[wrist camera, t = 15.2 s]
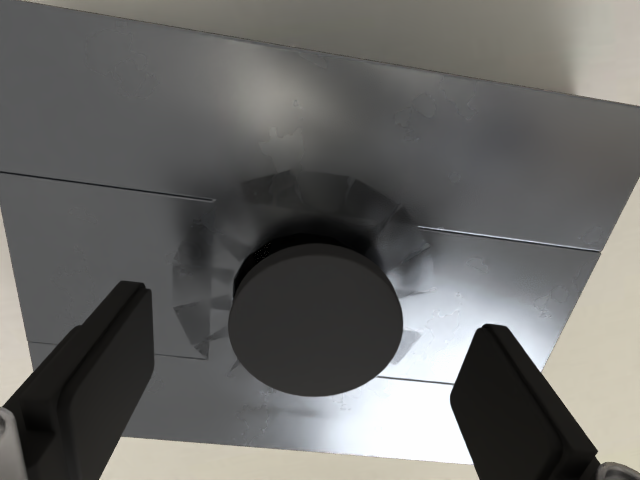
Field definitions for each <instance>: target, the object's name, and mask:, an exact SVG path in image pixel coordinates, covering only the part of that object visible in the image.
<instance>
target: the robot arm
mask: <svg viewBox="0 0 640 480" xmlns="http://www.w3.org/2000/svg"><path fill="white" fill-rule="evenodd" d="M154 365H155V360H154V335H153V310H152V291H151V289H147V288H146V287H145V284H144V283H141V282H133V281H124V280H122V281H120V282H119V283H118V284H117V285H116V286H115V287H114V288H113V290H112V291H111V292H110V293H109V294H108V295H107V296H106V298H105V299H104V300H103V301H102V302H101V303H100V304H99V306H98V307H97V308H96V309H95V310H94V311H93V312H92V314H91V315H90V316H89V317H88V318H87V319H86V320H85V322H84V323H83V324H82V325H78V326H75V327H74V328H73V329H72V330H71V331H70V332H69V333H68V334H67V335H66V336H65V337H64V338H63V339H62V341H61V342H60V343H59V344H58V345H57V346H56V347H55V348H54V349H53V351H52V352H51V353H50V354H49V355H48V356H47V357H46V358H45V360H44V361H43V362H42V363H41V364H40V365H39V366H38V367H37V368H36V370H35V371H34V372H33V373H32V374H31V375H30V376H29V377H28V379H27V380H26V381H25V382H24V383H23V384H22V385H21V386H20V387H19V389H18V390H17V391H16V392H15V393H14V394H13V395H12V396H11V397H10V399H9V400H8V401H7V402H6V403H5V404H4V405H3V406H2V407H0V480H99V478H100V477H101V475H102V473H103V471H104V469H105V467H106V465H107V463H108V461H109V459H110V457H111V455H112V453H113V451H114V449H115V447H116V445H117V443H118V441H119V439H120V437H121V435H122V433H123V431H124V430H125V428H126V426H127V424H128V422H129V420H130V418H131V416H132V414H133V412H134V410H135V408H136V406H137V404H138V402H139V400H140V398H141V396H142V394H143V392H144V390H145V388H146V386H147V384H148V382H149V381H150V379H151V376H152V374H153V370H154ZM450 406H451V409H452V411H453V414H454V416H455V419H456V421H457V424H458V426H459V429H460V431H461V434H462V436H463V439H464V441H465V444H466V446H467V449H468V452H469V454H470V457H471V459H472V462H473V464H474V467H475V469H476V472H477V474H478V477H479V479H480V480H640V473H639V472H637V471H635V470H633V469H631V468H629V467H627V466H625V465H622V464H618V463H615V462H605V463H603V464H600V463H599V461H598V460H597V459H596V457H595V455H596V454H597V452H598V451H597V449H596V448H595V446H594V445H593V444H592V442H591V441H590V439H589V438H588V437H587V435H586V434H585V433H584V431H583V430H582V428H581V427H580V426H579V424H578V423H577V422H576V420H575V419H574V417H573V416H572V415H571V413H570V412H569V411H568V409H567V408H566V406H565V405H564V404H563V402H562V401H561V400H560V398H559V397H558V395H557V394H556V393H555V391H554V390H553V389H552V387H551V386H550V384H549V383H548V382H547V380H546V379H545V378H544V376H543V375H542V373H541V372H540V371H539V369H538V368H537V367H536V365H535V364H534V362H533V361H532V360H531V358H530V357H529V356H528V354H527V353H526V351H525V350H524V349H523V347H522V346H521V344H520V343H519V342H518V340H517V339H516V338H515V336H514V335H513V333H512V332H511V331H510V329H509V328H508V327H507V326H504V325H496V324H488V323H486V324H484V325H483V326H482V328H478V329H477V330H476V331H475V334H474V336H473V339H472V341H471V344H470V346H469V349H468V351H467V354H466V356H465V359H464V361H463V364H462V366H461V369H460V371H459V373H458V376H457V378H456V381H455V383H454V386H453V388H452V391H451V394H450Z"/></svg>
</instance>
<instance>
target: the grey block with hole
mask: <svg viewBox="0 0 640 480" xmlns="http://www.w3.org/2000/svg"><path fill="white" fill-rule="evenodd" d="M639 177H640V106H637V105H631V104H625V103H619V102H613V101H607V100H601V99H596V98H590V97H584V96H578V95H572V94H566V93H560V92H555V91H549V90H543V89H537V88H531V87H525V86H519V85H513V84H508V83H502V82H496V81H490V80H484V79H478V78H472V77H467V76H461V75H455V74H449V73H443V72H437V71H431V70H426V69H420V68H414V67H408V66H402V65H396V64H390V63H385V62H379V61H373V60H367V59H361V58H355V57H349V56H344V55H338V54H332V53H326V52H320V51H314V50H308V49H303V48H297V47H291V46H285V45H279V44H273V43H267V42H262V41H256V40H250V39H244V38H238V37H232V36H226V35H221V34H215V33H209V32H203V31H197V30H191V29H185V28H180V27H174V26H168V25H162V24H156V23H150V22H144V21H139V20H133V19H127V18H121V17H115V16H109V15H103V14H98V13H92V12H86V11H80V10H74V9H68V8H62V7H57V6H51V5H45V4H39V3H33V2H27V1H21V0H0V207H1V212H2V217H3V222H4V227H5V232H6V237H7V242H8V247H9V252H10V257H11V262H12V267H13V272H14V277H15V282H16V287H17V292H18V297H19V302H20V307H21V312H22V317H23V322H24V327H25V332H26V337H27V341H28V346H29V351H30V356H31V361H32V366H33V371H35V370H36V368H37V367H38V366H39V365H40V364H41V363H42V362H43V361H44V360H45V358H46V357H47V356H48V355H49V354H50V353H51V352H52V351H53V349H54V348H55V347H56V346H57V345H58V344H59V343H60V342H61V341H62V339H63V338H64V337H65V336H66V335H67V334H68V333H69V332H70V331H71V330H72V329H73V328H74V327H75V326H78V325H82V324H83V323H84V322H85V320H86V319H87V318H88V317H89V316H90V315H91V314H92V312H93V311H94V310H95V309H96V308H97V307H98V306H99V304H100V303H101V302H102V301H103V300H104V299H105V298H106V296H107V295H108V294H109V293H110V292H111V291H112V290H113V288H114V287H115V286H116V285H117V284H118V283H119V282H120V281H122V280H124V281H133V282H141V283H144V284H145V287H146V288H147V289H151V291H152V310H153V335H154V360H155V365H154V370H153V374H152V376H151V379H150V381H149V382H148V384H147V386H146V388H145V390H144V392H143V394H142V396H141V398H140V400H139V402H138V404H137V406H136V408H135V410H134V412H133V414H132V416H131V418H130V420H129V422H128V424H127V426H126V428H125V430H124V431H123V433H122V435H121V437H133V438H145V439H158V440H170V441H183V442H195V443H208V444H220V445H233V446H245V447H258V448H271V449H283V450H296V451H308V452H321V453H333V454H346V455H358V456H371V457H383V458H396V459H408V460H421V461H433V462H446V463H459V464H471V465H474V464H473V462H472V459H471V457H470V454H469V452H468V449H467V446H466V444H465V441H464V439H463V436H462V434H461V431H460V429H459V426H458V424H457V421H456V419H455V416H454V414H453V411H452V409H451V406H450V394H451V391H452V388H453V386H454V383H455V381H456V378H457V376H458V373H459V371H460V369H461V366H462V364H463V361H464V359H465V356H466V354H467V351H468V349H469V346H470V344H471V341H472V339H473V336H474V334H475V331H476V330H477V329H478V328H482V326H483V325H484V324H486V323H488V324H496V325H504V326H507V327H508V328H509V329H510V331H511V332H512V333H513V335H514V336H515V338H516V339H517V340H518V342H519V343H520V344H521V346H522V347H523V349H524V350H525V351H526V353H527V354H528V356H529V357H530V358H531V360H532V361H533V362H534V364H535V365H536V367H537V368H538V369H539V371H540V372H542V370H543V368H544V366H545V364H546V362H547V360H548V358H549V356H550V354H551V352H552V350H553V348H554V346H555V344H556V342H557V340H558V338H559V336H560V334H561V332H562V330H563V328H564V326H565V324H566V323H567V321H568V319H569V317H570V315H571V313H572V311H573V309H574V307H575V305H576V303H577V301H578V299H579V297H580V295H581V293H582V291H583V289H584V287H585V285H586V283H587V281H588V279H589V277H590V275H591V273H592V271H593V269H594V267H595V265H596V263H597V261H598V259H599V257H600V255H601V253H600V252H601V251H602V250H603V248H604V246H605V244H606V242H607V240H608V238H609V236H610V234H611V232H612V230H613V228H614V226H615V224H616V222H617V220H618V218H619V216H620V214H621V212H622V210H623V208H624V206H625V205H626V203H627V201H628V199H629V197H630V195H631V193H632V191H633V189H634V187H635V185H636V183H637V181H638V179H639ZM296 234H308V235H316V236H324V237H330V238H332V239H334V240H336V241H338V242H339V243H341V244H343V245H345V246H347V247H349V248H350V249H352V250H354V251H355V252H357V253H359V254H361V255H363V256H365V257H366V258H368V259H369V260H371V261H372V262H374V263H375V264H376V265H377V266H378V267H379V268H380V269H381V270H382V271H383V272H384V273H385V274H386V276H387V277H388V279H389V280H390V282H391V283H392V285H393V287H394V290H395V292H396V294H397V297H398V300H399V302H400V305H401V309H402V313H403V322H404V323H403V334H402V339H401V342H400V345H399V348H398V350H397V352H396V354H395V356H394V357H393V359H392V360H391V362H390V363H389V364H388V366H387V367H386V368H385V369H384V370H383V371H382V372H381V373H380V374H379V375H377V376H376V377H375V378H374V379H372V380H371V381H369V382H368V383H366V384H364V385H362V386H360V387H358V388H356V389H354V390H351V391H348V392H345V393H341V394H338V395H332V396H326V397H304V396H297V395H292V394H287V393H284V392H281V391H278V390H275V389H273V388H271V387H269V386H267V385H265V384H263V383H262V382H260V381H259V380H257V379H256V378H255V377H254V376H252V375H251V374H250V373H249V372H248V371H247V370H246V369H245V368H244V367H243V366H242V364H241V363H240V361H239V360H238V359H237V357H236V355H235V353H234V351H233V348H232V346H231V343H230V339H229V333H228V319H229V313H230V309H231V306H232V303H233V300H234V297H235V294H236V291H237V289H238V287H239V285H240V283H241V282H242V280H243V279H244V277H245V276H246V274H247V273H248V272H249V271H250V270H251V269H252V268H253V267H254V266H255V265H257V264H256V261H255V259H254V256H253V253H254V252H256V251H257V250H259V249H260V248H262V247H263V246H264V245H266V244H267V243H269V242H270V241H271V240H275V239H279V238H284V237H288V236H292V235H296Z"/></svg>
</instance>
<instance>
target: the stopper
mask: <svg viewBox="0 0 640 480" xmlns="http://www.w3.org/2000/svg"><path fill="white" fill-rule="evenodd" d="M403 323H404V322H403V313H402V309H401V305H400V302H399V300H398V297H397V294H396V292H395V290H394V287H393V285H392V283H391V282H390V280H389V279H388V277H387V276H386V274H385V273H384V272H383V271H382V270H381V269H380V268H379V267H378V266H377V265H376V264H375V263H374V262H372V261H371V260H369V259H368V258H366V257H365V256H363V255H361V254H359V253H357V252H355V251H354V250H352V249H350V248H349V247H347V246H345V245H343V244H341V243H339V242H338V241H336V240H334V239H332V238H330V237H324V236H316V235H308V234H296V235H292V236H288V237H284V238H279V239H275V240H272V241H271V245H270V250H269V255H268V257H266V258H265V259H263V260H262V261H260V262H259V263H258V264H257V265H255V266H254V267H253V268H252V269H251V270H250V271H249V272H248V273H247V274H246V276H245V277H244V279H243V280H242V282H241V283H240V285H239V287H238V289H237V291H236V294H235V297H234V300H233V303H232V306H231V309H230V313H229V319H228V333H229V339H230V343H231V346H232V348H233V351H234V353H235V355H236V357H237V359H238V360H239V361H240V363H241V364H242V366H243V367H244V368H245V369H246V370H247V371H248V372H249V373H250V374H251V375H252V376H254V377H255V378H256V379H257V380H259V381H260V382H262V383H263V384H265V385H267V386H269V387H271V388H273V389H275V390H278V391H281V392H284V393H287V394H292V395H297V396H304V397H326V396H332V395H338V394H341V393H345V392H348V391H351V390H354V389H356V388H358V387H360V386H362V385H364V384H366V383H368V382H369V381H371V380H372V379H374V378H375V377H376V376H377V375H379V374H380V373H381V372H382V371H383V370H384V369H385V368H386V367H387V366H388V364H389V363H390V362H391V360H392V359H393V357H394V356H395V354H396V352H397V350H398V348H399V345H400V342H401V339H402V334H403Z"/></svg>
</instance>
